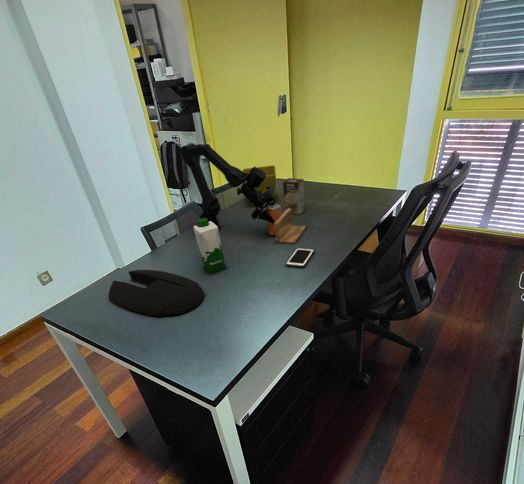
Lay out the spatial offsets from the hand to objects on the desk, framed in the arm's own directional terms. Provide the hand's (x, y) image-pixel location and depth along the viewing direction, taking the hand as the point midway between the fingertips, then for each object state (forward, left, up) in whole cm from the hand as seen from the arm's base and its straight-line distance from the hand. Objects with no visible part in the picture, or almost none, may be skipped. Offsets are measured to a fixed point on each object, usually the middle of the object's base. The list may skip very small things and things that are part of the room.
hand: (277, 219), depth 153 cm
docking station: (-37, -54, -7) cm, 66 cm away
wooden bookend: (+6, -1, -7) cm, 10 cm away
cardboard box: (-18, +46, -7) cm, 50 cm away
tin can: (-1, 0, -7) cm, 7 cm away
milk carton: (-21, -33, -7) cm, 40 cm away
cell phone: (+14, -25, -7) cm, 29 cm away
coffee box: (+4, +28, -7) cm, 29 cm away
